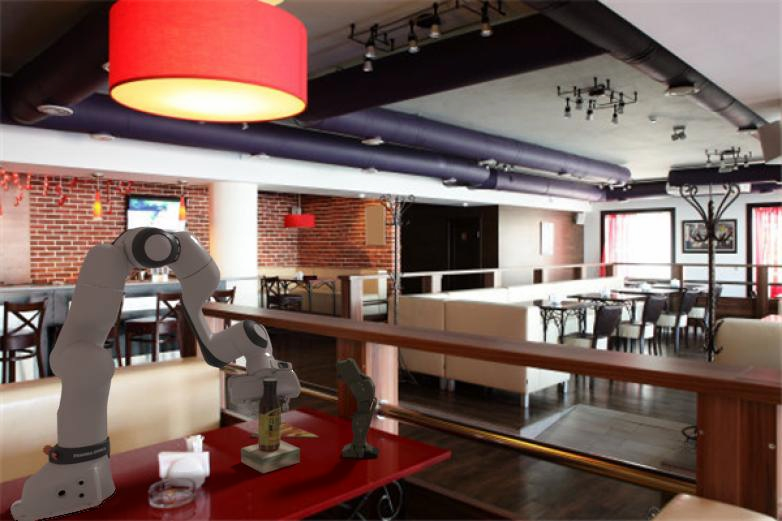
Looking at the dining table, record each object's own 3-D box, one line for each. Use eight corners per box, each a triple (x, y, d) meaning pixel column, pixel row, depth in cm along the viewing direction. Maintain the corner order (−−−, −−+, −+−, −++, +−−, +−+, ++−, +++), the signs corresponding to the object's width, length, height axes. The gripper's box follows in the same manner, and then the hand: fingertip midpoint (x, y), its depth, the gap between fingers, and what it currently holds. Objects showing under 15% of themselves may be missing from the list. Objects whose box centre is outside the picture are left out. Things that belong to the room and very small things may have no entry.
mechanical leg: (392, 447, 175) (367, 351, 176) (389, 456, 168) (363, 356, 168) (348, 457, 177) (323, 362, 177) (344, 466, 170) (318, 367, 170)
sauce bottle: (270, 453, 163) (270, 383, 162) (253, 450, 166) (253, 380, 165) (285, 446, 169) (285, 378, 168) (268, 443, 172) (268, 376, 171)
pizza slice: (276, 450, 178) (276, 444, 178) (242, 433, 195) (242, 427, 195) (318, 439, 189) (318, 432, 189) (282, 424, 205) (282, 418, 205)
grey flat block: (262, 473, 159) (262, 459, 159) (241, 462, 168) (240, 448, 168) (300, 462, 167) (299, 448, 167) (277, 451, 176) (277, 438, 176)
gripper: (227, 369, 169) (234, 411, 161) (296, 362, 178) (306, 402, 169) (225, 381, 173) (231, 422, 165) (292, 374, 182) (301, 413, 173)
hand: (270, 412), depth 167 cm, fingers open, 8 cm apart
